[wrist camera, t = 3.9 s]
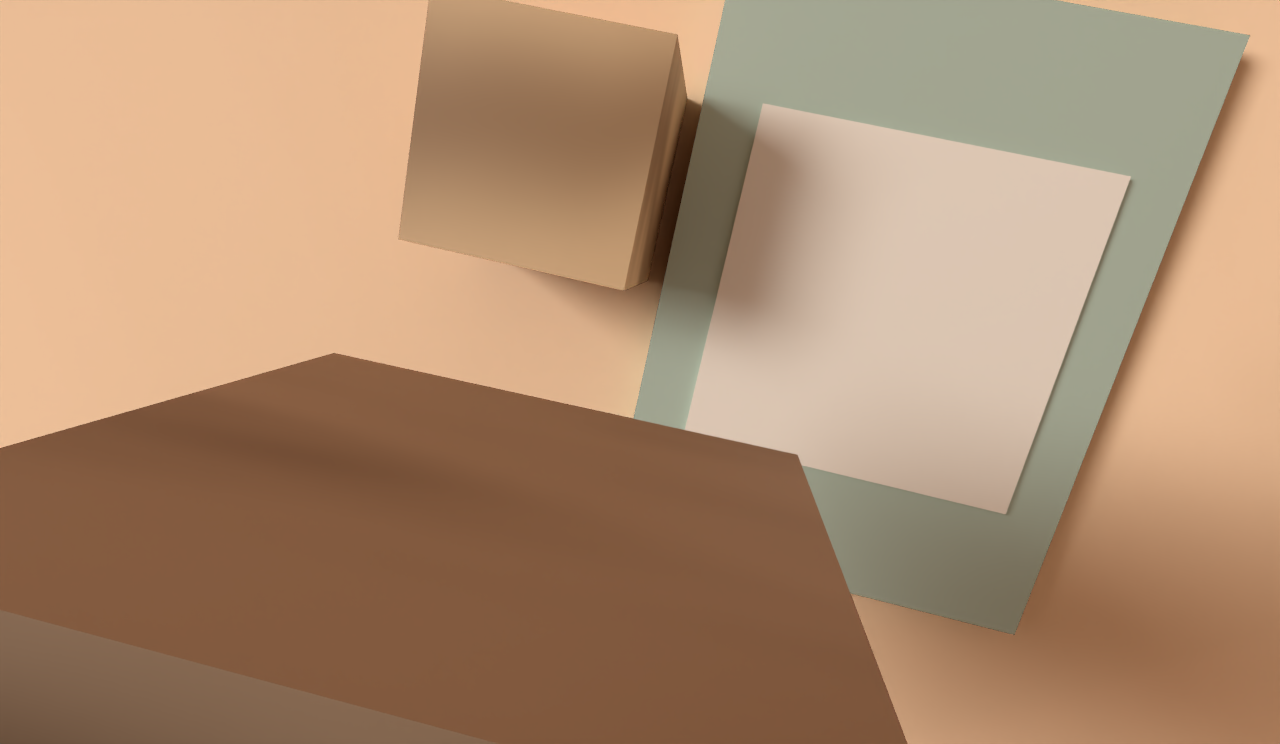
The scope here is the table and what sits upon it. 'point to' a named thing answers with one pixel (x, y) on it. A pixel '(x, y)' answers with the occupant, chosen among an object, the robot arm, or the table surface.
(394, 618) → the walnut block
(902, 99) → the base board
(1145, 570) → the table surface
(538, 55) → the oak cube
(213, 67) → the table surface
